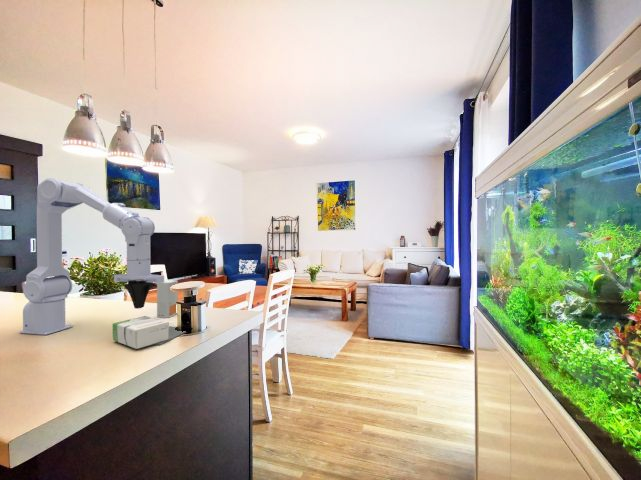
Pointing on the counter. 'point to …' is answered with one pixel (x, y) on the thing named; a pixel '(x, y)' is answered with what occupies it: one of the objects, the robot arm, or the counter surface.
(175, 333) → the mat
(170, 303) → the skincare box
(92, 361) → the counter surface
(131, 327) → the ink box
